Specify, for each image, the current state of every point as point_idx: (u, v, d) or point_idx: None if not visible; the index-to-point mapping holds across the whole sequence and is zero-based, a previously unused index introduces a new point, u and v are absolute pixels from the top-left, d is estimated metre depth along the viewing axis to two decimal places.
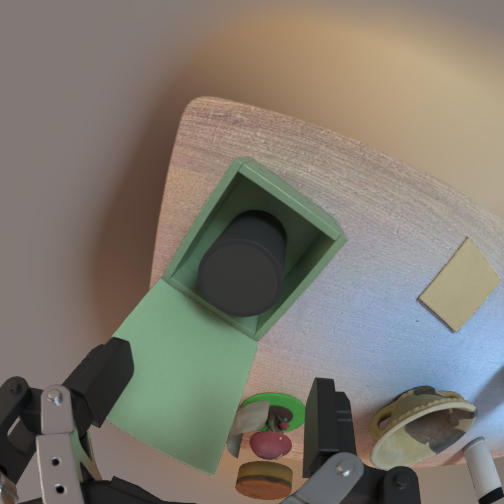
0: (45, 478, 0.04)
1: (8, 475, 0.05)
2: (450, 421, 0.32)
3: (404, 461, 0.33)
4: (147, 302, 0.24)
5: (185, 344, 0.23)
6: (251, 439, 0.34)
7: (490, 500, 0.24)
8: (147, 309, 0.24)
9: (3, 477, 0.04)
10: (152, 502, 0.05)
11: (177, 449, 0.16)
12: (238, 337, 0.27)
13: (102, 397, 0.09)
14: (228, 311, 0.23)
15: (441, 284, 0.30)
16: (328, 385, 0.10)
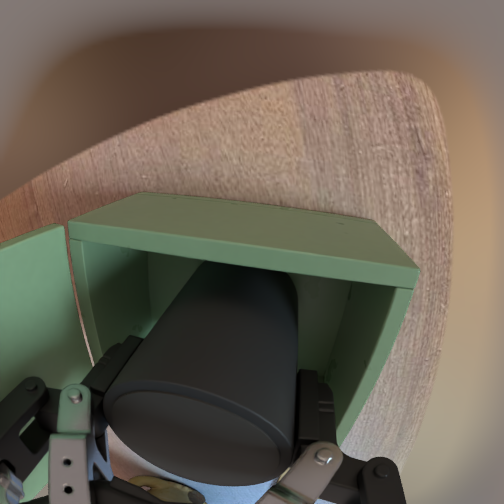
0: (54, 477, 0.04)
1: (16, 472, 0.05)
2: None
3: None
4: None
5: None
6: None
7: None
8: None
9: (10, 475, 0.04)
10: (152, 502, 0.05)
11: None
12: None
13: None
14: (120, 434, 0.08)
15: None
16: (311, 376, 0.10)
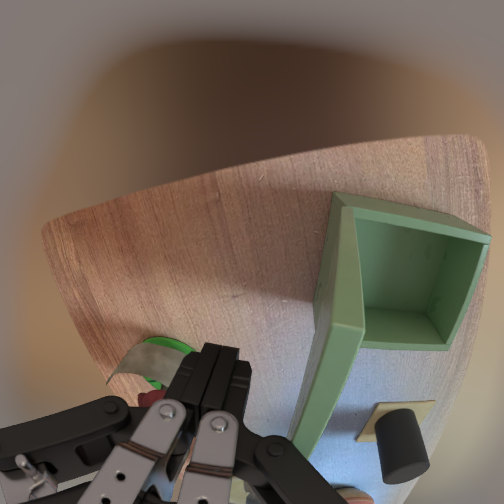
0: (98, 484, 0.05)
1: (57, 474, 0.06)
2: None
3: None
4: None
5: None
6: (157, 393, 0.27)
7: None
8: None
9: (45, 479, 0.05)
10: (152, 502, 0.05)
11: None
12: None
13: None
14: (385, 479, 0.26)
15: (395, 409, 0.33)
16: (231, 352, 0.11)
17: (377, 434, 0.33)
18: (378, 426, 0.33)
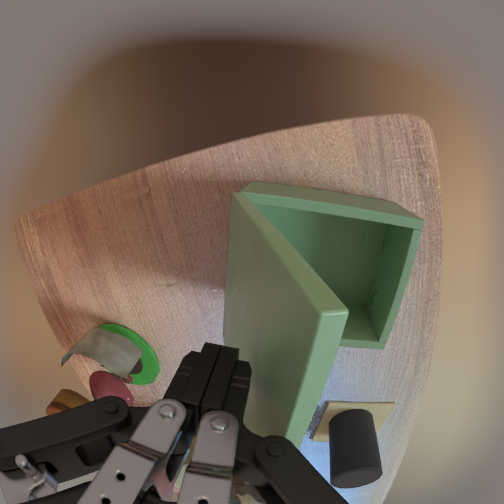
0: (98, 484, 0.05)
1: (57, 474, 0.06)
2: (238, 487, 0.37)
3: (179, 483, 0.35)
4: None
5: None
6: (99, 373, 0.27)
7: None
8: None
9: (45, 479, 0.05)
10: (152, 502, 0.05)
11: None
12: None
13: None
14: (332, 481, 0.26)
15: (348, 409, 0.34)
16: (231, 352, 0.11)
17: (329, 434, 0.33)
18: (330, 425, 0.34)
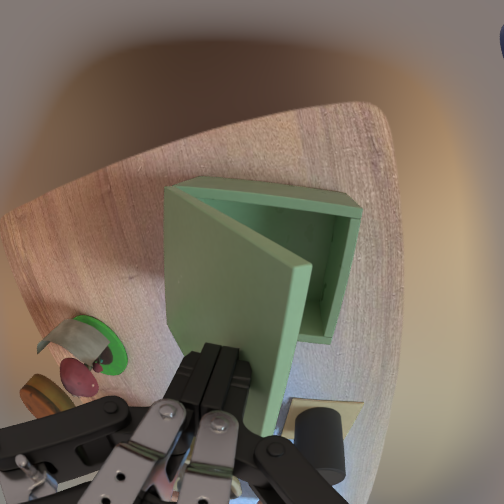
0: (98, 484, 0.05)
1: (57, 474, 0.06)
2: None
3: None
4: None
5: None
6: (68, 360, 0.28)
7: None
8: None
9: (45, 479, 0.05)
10: (152, 502, 0.05)
11: None
12: None
13: None
14: None
15: (314, 407, 0.34)
16: (231, 352, 0.11)
17: (294, 431, 0.34)
18: (296, 423, 0.34)
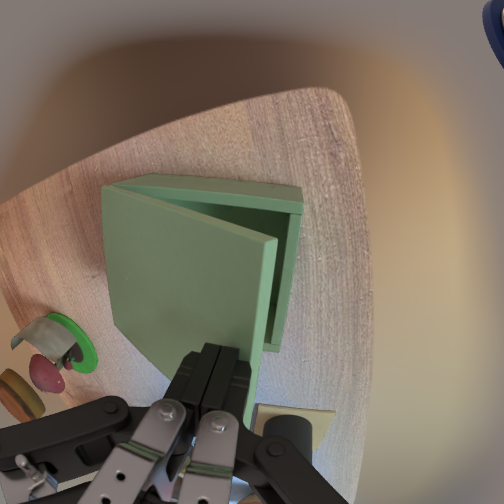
0: (99, 484, 0.05)
1: (57, 474, 0.06)
2: None
3: None
4: None
5: None
6: (36, 356, 0.26)
7: None
8: None
9: (45, 479, 0.05)
10: (152, 502, 0.05)
11: None
12: None
13: None
14: None
15: (282, 414, 0.33)
16: (231, 352, 0.11)
17: None
18: (263, 429, 0.33)
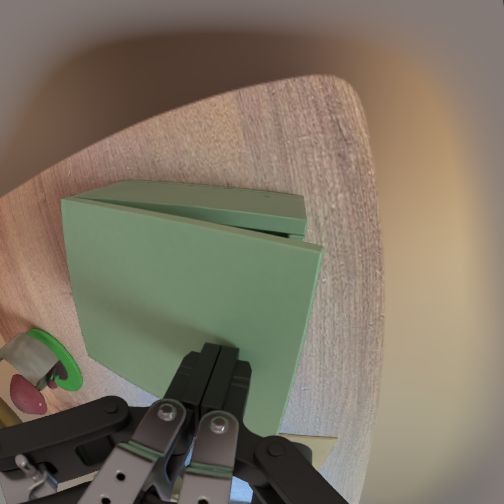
0: (98, 484, 0.05)
1: (57, 474, 0.06)
2: None
3: None
4: None
5: None
6: (16, 377, 0.22)
7: None
8: None
9: (45, 479, 0.05)
10: (152, 502, 0.05)
11: None
12: None
13: None
14: None
15: None
16: (231, 352, 0.11)
17: None
18: None
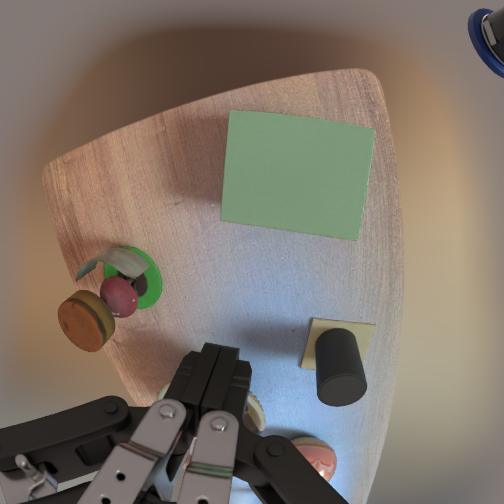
0: (98, 484, 0.05)
1: (57, 474, 0.06)
2: None
3: None
4: None
5: None
6: (111, 278, 0.35)
7: None
8: None
9: (45, 479, 0.05)
10: (152, 502, 0.05)
11: None
12: None
13: None
14: (319, 393, 0.34)
15: (332, 328, 0.41)
16: (231, 352, 0.11)
17: (315, 353, 0.41)
18: (316, 344, 0.41)
